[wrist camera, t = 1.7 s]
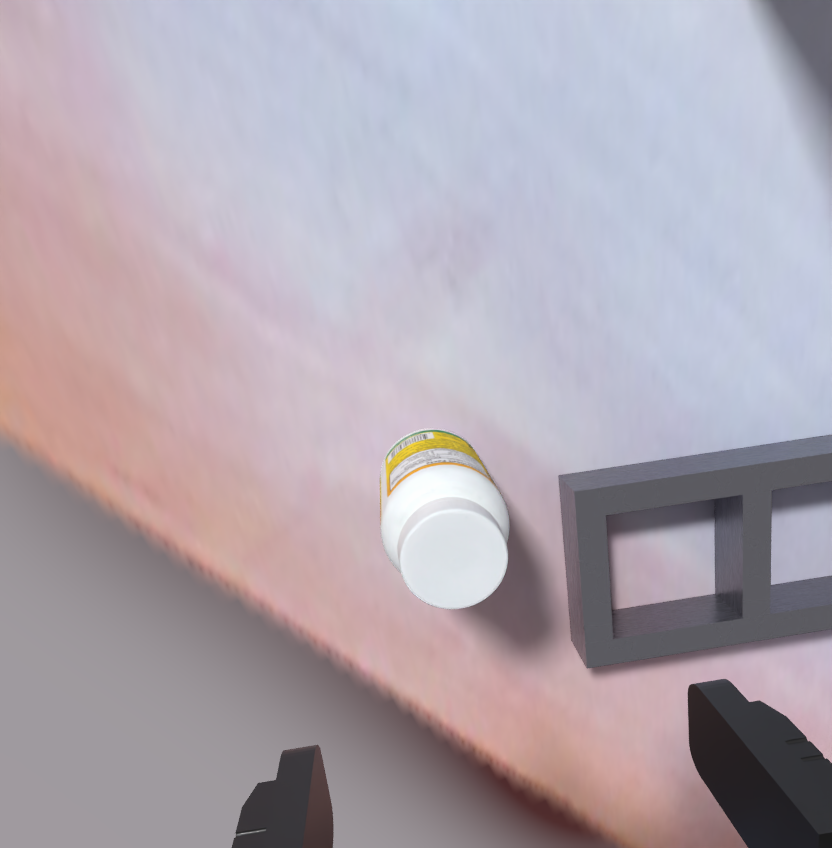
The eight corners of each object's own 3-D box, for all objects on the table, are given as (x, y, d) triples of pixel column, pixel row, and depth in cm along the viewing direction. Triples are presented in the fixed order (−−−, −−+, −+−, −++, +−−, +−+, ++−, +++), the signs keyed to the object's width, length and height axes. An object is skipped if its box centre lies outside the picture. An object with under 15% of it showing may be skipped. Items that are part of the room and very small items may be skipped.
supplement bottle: (399, 412, 29) (410, 469, 20) (496, 444, 30) (550, 514, 21) (365, 507, 30) (361, 604, 21) (460, 536, 31) (496, 642, 22)
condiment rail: (558, 475, 31) (574, 491, 28) (893, 425, 31) (936, 436, 29) (571, 640, 33) (587, 668, 30) (882, 590, 34) (921, 614, 31)
